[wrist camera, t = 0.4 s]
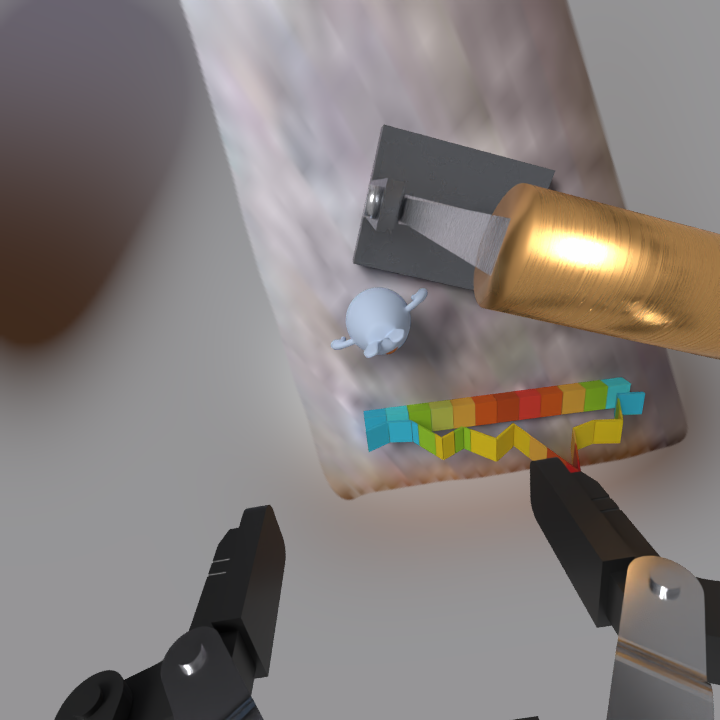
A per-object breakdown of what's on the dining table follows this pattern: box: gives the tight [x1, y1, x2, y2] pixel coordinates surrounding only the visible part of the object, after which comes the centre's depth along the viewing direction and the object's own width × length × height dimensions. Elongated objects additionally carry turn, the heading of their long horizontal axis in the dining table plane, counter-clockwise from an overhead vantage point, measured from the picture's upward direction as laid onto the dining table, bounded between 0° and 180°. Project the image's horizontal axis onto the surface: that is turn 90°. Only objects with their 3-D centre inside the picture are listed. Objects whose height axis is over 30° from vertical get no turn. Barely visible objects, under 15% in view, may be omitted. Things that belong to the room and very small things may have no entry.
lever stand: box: [353, 125, 555, 290], centre depth 33 cm, size 12×18×16 cm
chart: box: [364, 377, 645, 473], centre depth 42 cm, size 30×3×15 cm, turn 97°
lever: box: [397, 183, 720, 360], centre depth 19 cm, size 3×13×20 cm, turn 77°
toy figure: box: [331, 287, 428, 358], centre depth 38 cm, size 11×6×12 cm, turn 121°
